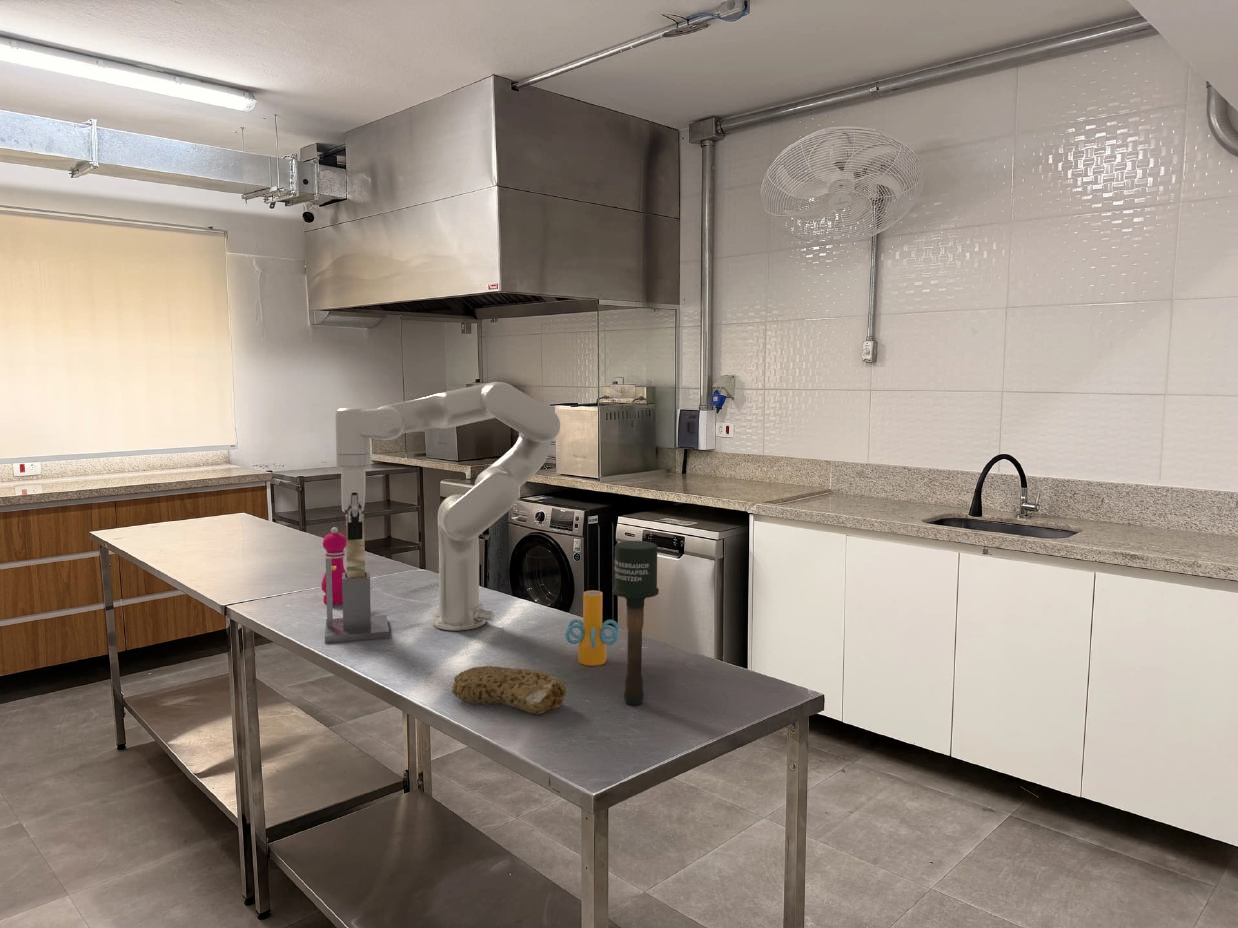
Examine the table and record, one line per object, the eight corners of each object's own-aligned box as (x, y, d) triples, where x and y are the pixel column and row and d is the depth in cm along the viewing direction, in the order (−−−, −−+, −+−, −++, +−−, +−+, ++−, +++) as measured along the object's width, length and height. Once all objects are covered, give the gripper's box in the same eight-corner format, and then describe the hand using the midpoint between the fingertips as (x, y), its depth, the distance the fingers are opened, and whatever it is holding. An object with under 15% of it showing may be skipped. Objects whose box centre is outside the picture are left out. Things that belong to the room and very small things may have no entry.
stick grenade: (601, 701, 154) (603, 544, 151) (633, 690, 160) (636, 538, 157) (633, 715, 148) (636, 551, 145) (666, 702, 154) (669, 544, 151)
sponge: (570, 709, 154) (490, 667, 164) (572, 674, 151) (491, 633, 161) (524, 746, 144) (442, 699, 154) (526, 709, 141) (442, 664, 151)
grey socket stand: (386, 620, 204) (385, 548, 202) (389, 637, 190) (388, 561, 188) (326, 625, 199) (324, 551, 197) (324, 643, 186) (322, 564, 184)
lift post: (365, 596, 196) (363, 513, 194) (365, 601, 193) (364, 516, 191) (347, 597, 195) (345, 514, 193) (347, 602, 191) (345, 517, 189)
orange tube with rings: (629, 659, 178) (630, 591, 176) (604, 674, 169) (604, 602, 167) (581, 649, 184) (582, 583, 182) (554, 663, 175) (555, 594, 173)
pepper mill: (354, 598, 223) (353, 525, 221) (343, 605, 216) (341, 530, 214) (329, 597, 224) (327, 524, 222) (316, 604, 217) (314, 529, 215)
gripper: (337, 457, 198) (338, 529, 199) (335, 465, 181) (337, 544, 183) (369, 457, 200) (371, 528, 202) (371, 464, 183) (373, 542, 185)
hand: (355, 535), depth 192 cm, fingers open, 8 cm apart
